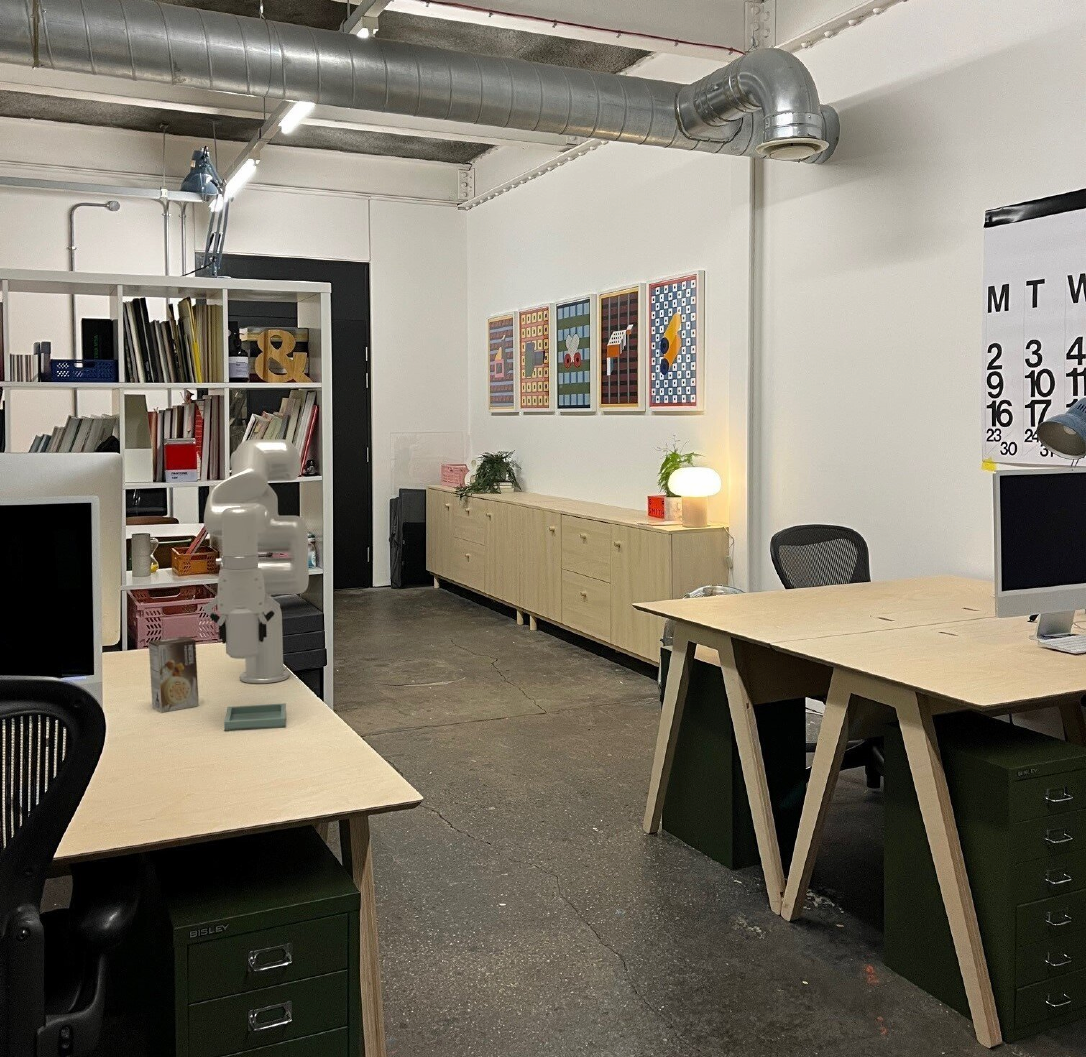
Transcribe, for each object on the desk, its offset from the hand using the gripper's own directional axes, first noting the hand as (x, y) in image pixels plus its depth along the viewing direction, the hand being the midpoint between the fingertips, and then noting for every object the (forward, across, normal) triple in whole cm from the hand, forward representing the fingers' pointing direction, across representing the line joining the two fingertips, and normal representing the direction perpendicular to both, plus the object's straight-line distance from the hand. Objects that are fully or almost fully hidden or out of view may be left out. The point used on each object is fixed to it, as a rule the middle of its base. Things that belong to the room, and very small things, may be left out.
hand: (243, 641), depth 245 cm
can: (+4, 0, 0) cm, 4 cm away
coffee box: (+19, -17, +16) cm, 30 cm away
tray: (+18, +2, 0) cm, 19 cm away
